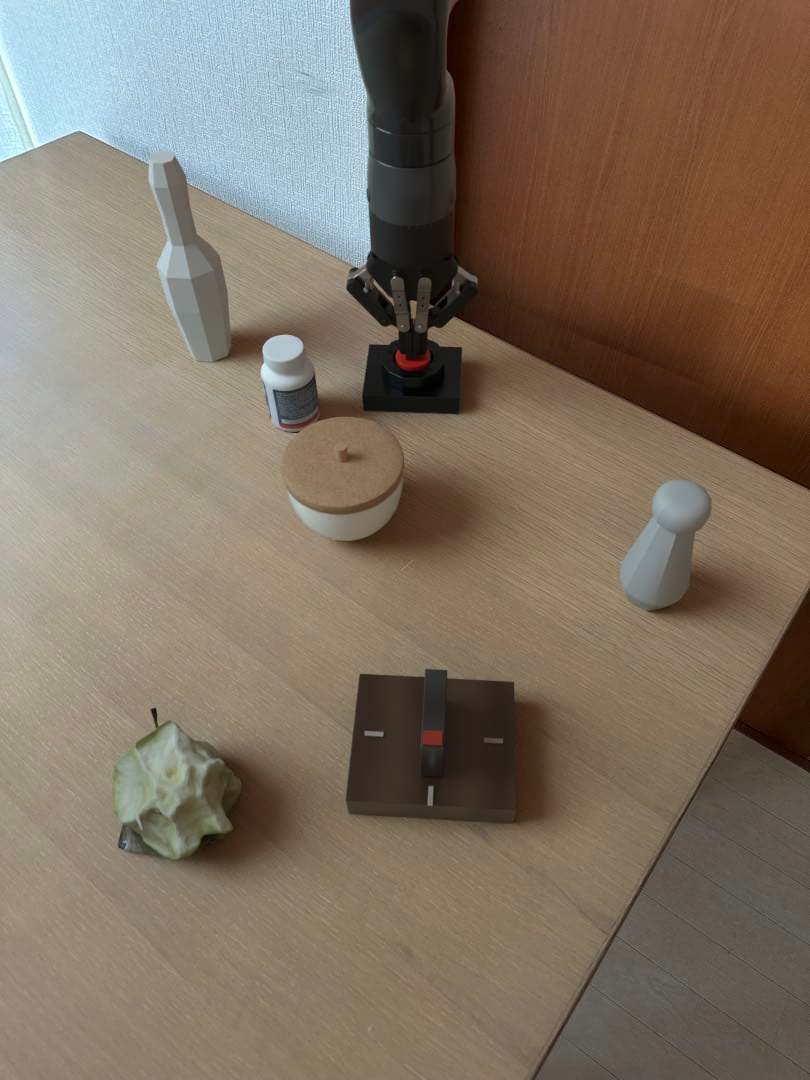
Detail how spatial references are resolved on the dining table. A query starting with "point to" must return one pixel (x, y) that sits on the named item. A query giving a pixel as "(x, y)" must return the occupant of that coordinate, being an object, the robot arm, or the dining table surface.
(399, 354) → the red button
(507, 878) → the dining table surface
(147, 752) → the fruit
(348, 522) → the trinket box
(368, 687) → the handle panel
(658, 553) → the salt shaker
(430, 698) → the handle
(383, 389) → the button block
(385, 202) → the robot arm
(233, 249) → the dining table surface
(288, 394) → the pill bottle
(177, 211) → the faceted bottle
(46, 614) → the dining table surface
